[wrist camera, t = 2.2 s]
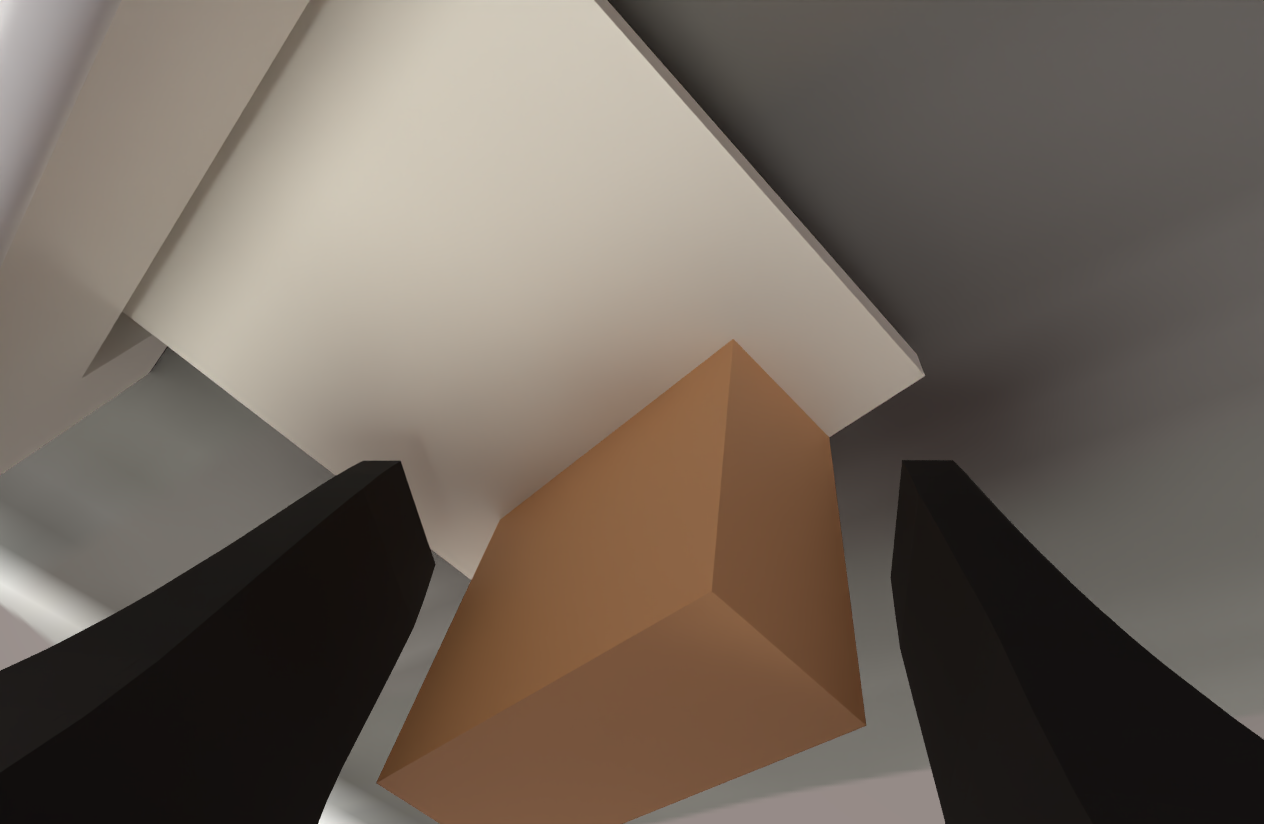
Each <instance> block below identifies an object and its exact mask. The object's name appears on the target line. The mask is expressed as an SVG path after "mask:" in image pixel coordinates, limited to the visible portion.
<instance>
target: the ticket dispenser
mask: <svg viewBox="0 0 1264 824" xmlns="http://www.w3.org/2000/svg"><path fill="white" fill-rule="evenodd" d="M309 1H310V0H0V475H2V474H3V473H4V472H6V471H7V470H9V469H10V468H12V467H13V466H15V465H16V464H18V463H19V462H21V461H22V460H23V459H25V458H26V457H28V456H29V455H31V454H32V453H34V452H35V451H37V450H38V449H40V448H41V447H42V446H44V445H45V444H47V443H48V442H50V441H51V440H53V439H54V438H56V437H57V436H59V435H60V434H61V433H63V432H64V431H66V430H67V429H69V428H70V427H72V426H73V425H75V424H76V423H78V422H79V421H80V420H82V419H83V418H85V417H86V416H88V415H89V414H91V413H92V412H94V411H95V410H97V409H98V408H99V407H101V406H102V405H104V404H105V403H107V402H108V401H110V400H111V399H113V398H114V397H116V396H117V395H118V394H120V393H121V392H123V391H124V390H126V389H127V388H129V387H130V386H132V385H133V384H135V383H136V382H137V381H139V380H140V379H142V378H143V377H145V376H146V375H148V374H149V373H150V371H151V370H152V368H153V367H154V365H155V364H156V362H157V361H158V359H159V358H160V356H161V355H162V353H163V352H164V350H165V349H166V347H167V345H165V344H164V343H163V342H162V341H160V340H159V339H158V338H156V337H155V336H154V335H152V334H151V333H150V332H149V331H147V330H146V329H145V328H143V327H142V326H141V325H139V324H138V323H137V322H136V321H134V320H133V319H132V318H130V317H129V316H128V315H126V314H125V313H124V312H123V309H124V307H125V306H126V304H127V302H128V301H129V299H130V297H131V296H132V294H133V292H134V291H135V289H136V287H137V286H138V284H139V282H140V281H141V279H142V277H143V276H144V274H145V272H146V271H147V269H148V267H149V266H150V264H151V262H152V261H153V259H154V258H155V256H156V254H157V253H158V251H159V249H160V248H161V246H162V244H163V243H164V241H165V239H166V238H167V236H168V234H169V233H170V231H171V229H172V228H173V226H174V224H175V223H176V221H177V219H178V218H179V216H180V214H181V213H182V211H183V209H184V208H185V206H186V204H187V203H188V201H189V199H190V198H191V196H192V195H193V193H194V191H195V190H196V188H197V186H198V185H199V183H200V181H201V180H202V178H203V176H204V175H205V173H206V171H207V170H208V168H209V166H210V165H211V163H212V161H213V160H214V158H215V156H216V155H217V153H218V151H219V150H220V148H221V146H222V145H223V143H224V141H225V140H226V138H227V136H228V135H229V133H230V132H231V130H232V128H233V127H234V125H235V123H236V122H237V120H238V118H239V117H240V115H241V113H242V112H243V110H244V108H245V107H246V105H247V103H248V102H249V100H250V98H251V97H252V95H253V93H254V92H255V90H256V88H257V87H258V85H259V83H260V82H261V80H262V78H263V77H264V75H265V73H266V72H267V70H268V69H269V67H270V65H271V64H272V62H273V60H274V59H275V57H276V55H277V54H278V52H279V50H280V49H281V47H282V45H283V44H284V42H285V40H286V39H287V37H288V35H289V34H290V32H291V30H292V29H293V27H294V25H295V24H296V22H297V20H298V19H299V17H300V15H301V14H302V12H303V10H304V9H305V7H306V6H307V4H308V2H309Z"/></svg>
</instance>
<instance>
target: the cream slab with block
mask: <svg viewBox="0 0 1264 824" xmlns="http://www.w3.org/2000/svg"><path fill="white" fill-rule="evenodd" d="M123 312H124V313H125V314H126V315H128V316H129V317H130V318H132V319H133V320H134V321H136V322H137V323H138V324H139V325H141V326H142V327H143V328H145V329H146V330H147V331H149V332H150V333H151V334H152V335H154V336H155V337H156V338H158V339H159V340H160V341H162V342H163V343H164V344H165V345H167V346H168V347H169V348H171V349H172V350H173V351H175V352H176V353H177V354H178V355H180V356H181V357H182V358H184V359H185V360H186V361H188V362H189V363H190V364H191V365H193V366H194V367H195V368H197V369H198V370H199V371H201V372H202V373H203V374H204V375H206V376H207V377H208V378H210V379H211V380H212V381H214V382H215V383H216V384H217V385H219V386H220V387H221V388H223V389H224V390H225V391H226V392H228V393H229V394H230V395H232V396H233V397H234V398H236V399H237V400H238V401H239V402H241V403H242V404H243V405H245V406H246V407H247V408H249V409H250V410H251V411H252V412H254V413H255V414H256V415H258V416H259V417H260V418H262V419H263V420H264V421H265V422H267V423H268V424H269V425H271V426H272V427H273V428H275V429H276V430H277V431H278V432H280V433H281V434H282V435H284V436H285V437H286V438H288V439H289V440H290V441H291V442H293V443H294V444H295V445H297V446H298V447H299V448H301V449H302V450H303V451H304V452H306V453H307V454H308V455H310V456H311V457H312V458H313V459H315V460H316V461H317V462H319V463H320V464H321V465H323V466H324V467H325V468H326V469H328V470H329V471H330V472H332V473H333V474H334V475H338V474H340V473H341V472H343V471H345V470H347V469H348V468H350V467H352V466H354V465H356V464H357V463H359V462H361V461H401V463H402V466H403V469H404V472H405V475H406V478H407V481H408V484H409V487H410V490H411V493H412V496H413V499H414V502H415V505H416V508H417V511H418V514H419V517H420V520H421V523H422V526H423V529H424V532H425V535H426V538H427V541H428V544H429V547H430V549H432V550H433V551H434V552H436V553H437V554H438V555H439V556H441V557H442V558H443V559H445V560H446V561H447V562H449V563H450V564H451V565H452V566H454V567H455V568H456V569H458V570H459V571H460V572H462V573H463V574H464V575H465V576H467V577H468V578H469V579H471V582H470V584H469V586H468V589H467V591H466V593H465V595H464V597H463V599H462V601H461V603H460V606H459V608H458V610H457V612H456V614H455V616H454V618H453V621H452V623H451V625H450V627H449V629H448V631H447V633H446V635H445V638H444V640H443V642H442V644H441V646H440V648H439V650H438V653H437V655H436V657H435V659H434V661H433V663H432V665H431V667H430V670H429V672H428V674H427V676H426V678H425V680H424V682H423V684H422V687H421V689H420V691H419V693H418V695H417V697H416V699H415V702H414V704H413V706H412V708H411V710H410V712H409V714H408V716H407V719H406V721H405V723H404V725H403V727H402V729H401V731H400V733H399V736H398V738H397V740H396V742H395V744H394V746H393V748H392V751H391V753H390V755H389V757H388V759H387V761H386V763H385V765H384V768H383V770H382V772H381V774H380V776H379V778H378V780H377V782H376V783H377V784H379V785H380V786H382V787H383V788H385V789H386V790H388V791H390V792H391V793H393V794H394V795H396V796H397V797H399V798H401V799H402V800H404V801H405V802H407V803H408V804H410V805H412V806H413V807H415V808H416V809H418V810H419V811H421V812H423V813H424V814H426V815H427V816H429V817H430V818H432V819H434V820H435V821H437V822H438V823H440V824H623V823H625V822H628V821H630V820H633V819H635V818H638V817H640V816H643V815H645V814H648V813H650V812H653V811H655V810H658V809H660V808H663V807H665V806H668V805H670V804H673V803H675V802H678V801H680V800H683V799H685V798H688V797H690V796H693V795H695V794H698V793H700V792H703V791H705V790H708V789H710V788H712V787H715V786H717V785H720V784H722V783H725V782H727V781H730V780H732V779H735V778H737V777H740V776H742V775H745V774H747V773H750V772H752V771H755V770H757V769H760V768H762V767H765V766H767V765H770V764H772V763H775V762H777V761H780V760H782V759H785V758H787V757H790V756H792V755H794V754H797V753H799V752H802V751H804V750H807V749H809V748H812V747H814V746H817V745H819V744H822V743H824V742H827V741H829V740H832V739H834V738H837V737H839V736H842V735H844V734H847V733H849V732H852V731H854V730H857V729H859V728H862V727H864V726H866V720H865V712H864V704H863V696H862V689H861V681H860V673H859V665H858V658H857V650H856V642H855V634H854V626H853V619H852V611H851V603H850V595H849V588H848V580H847V572H846V564H845V557H844V549H843V541H842V533H841V525H840V518H839V510H838V502H837V494H836V487H835V479H834V471H833V463H832V455H831V448H830V440H829V437H830V436H832V435H834V434H835V433H837V432H838V431H840V430H841V429H843V428H845V427H846V426H848V425H849V424H851V423H852V422H854V421H855V420H857V419H859V418H860V417H862V416H863V415H865V414H866V413H868V412H869V411H871V410H873V409H874V408H876V407H877V406H879V405H880V404H882V403H884V402H885V401H887V400H888V399H890V398H891V397H893V396H894V395H896V394H898V393H899V392H901V391H902V390H904V389H905V388H907V387H909V386H910V385H912V384H913V383H915V382H916V381H918V380H919V379H921V378H923V377H924V376H925V374H924V372H923V369H922V366H921V364H920V361H919V358H918V356H917V354H916V353H915V351H914V350H913V349H912V348H911V347H910V346H909V345H908V343H907V342H906V341H905V340H904V339H903V338H902V337H901V335H900V334H899V333H898V332H897V331H896V330H895V329H894V327H893V326H892V325H891V324H890V323H889V322H888V321H887V319H886V318H885V317H884V316H883V315H882V314H881V313H880V311H879V310H878V309H877V308H876V307H875V306H874V305H873V303H872V302H871V301H870V300H869V299H868V298H867V297H866V295H865V294H864V293H863V292H862V291H861V290H860V289H859V287H858V286H857V285H856V284H855V283H854V282H853V281H852V279H851V278H850V277H849V276H848V275H847V274H846V273H845V271H844V270H843V269H842V268H841V267H840V266H839V265H838V263H837V262H836V261H835V260H834V259H833V258H832V257H831V255H830V254H829V253H828V252H827V251H826V250H825V249H824V247H823V246H822V245H821V244H820V243H819V242H818V241H817V239H816V238H815V237H814V236H813V235H812V234H811V233H810V231H809V230H808V229H807V228H806V227H805V226H804V225H803V223H802V222H801V221H800V220H799V219H798V218H797V217H796V215H795V214H794V213H793V212H792V211H791V210H790V209H789V207H788V206H787V205H786V204H785V203H784V202H783V201H782V199H781V198H780V197H779V196H778V195H777V194H776V193H775V191H774V190H773V189H772V188H771V187H770V186H769V185H768V183H767V182H766V181H765V180H764V179H763V178H762V177H761V175H760V174H759V173H758V172H757V171H756V170H755V169H754V167H753V166H752V165H751V164H750V163H749V162H748V161H747V159H746V158H745V157H744V156H743V155H742V154H741V153H740V151H739V150H738V149H737V148H736V147H735V146H734V145H733V143H732V142H731V141H730V140H729V139H728V138H727V137H726V135H725V134H724V133H723V132H722V131H721V130H720V129H719V127H718V126H717V125H716V124H715V123H714V122H713V121H712V119H711V118H710V117H709V116H708V115H707V114H706V113H705V111H704V110H703V109H702V108H701V107H700V106H699V105H698V103H697V102H696V101H695V100H694V99H693V98H692V97H691V95H690V94H689V93H688V92H687V91H686V90H685V89H684V87H683V86H682V85H681V84H680V83H679V82H678V81H677V79H676V78H675V77H674V76H673V75H672V74H671V73H670V71H669V70H668V69H667V68H666V67H665V66H664V65H663V63H662V62H661V61H660V60H659V59H658V58H657V57H656V55H655V54H654V53H653V52H652V51H651V50H650V49H649V47H648V46H647V45H646V44H645V43H644V42H643V41H642V39H641V38H640V37H639V36H638V35H637V34H636V33H635V31H634V30H633V29H632V28H631V27H630V26H629V25H628V23H627V22H626V21H625V20H624V19H623V18H622V17H621V15H620V14H619V13H618V12H617V11H616V10H615V9H614V7H613V6H612V5H611V4H610V3H609V2H608V1H607V0H310V1H309V2H308V4H307V6H306V7H305V9H304V10H303V12H302V14H301V15H300V17H299V19H298V20H297V22H296V24H295V25H294V27H293V29H292V30H291V32H290V34H289V35H288V37H287V39H286V40H285V42H284V44H283V45H282V47H281V49H280V50H279V52H278V54H277V55H276V57H275V59H274V60H273V62H272V64H271V65H270V67H269V69H268V70H267V72H266V73H265V75H264V77H263V78H262V80H261V82H260V83H259V85H258V87H257V88H256V90H255V92H254V93H253V95H252V97H251V98H250V100H249V102H248V103H247V105H246V107H245V108H244V110H243V112H242V113H241V115H240V117H239V118H238V120H237V122H236V123H235V125H234V127H233V128H232V130H231V132H230V133H229V135H228V136H227V138H226V140H225V141H224V143H223V145H222V146H221V148H220V150H219V151H218V153H217V155H216V156H215V158H214V160H213V161H212V163H211V165H210V166H209V168H208V170H207V171H206V173H205V175H204V176H203V178H202V180H201V181H200V183H199V185H198V186H197V188H196V190H195V191H194V193H193V195H192V196H191V198H190V199H189V201H188V203H187V204H186V206H185V208H184V209H183V211H182V213H181V214H180V216H179V218H178V219H177V221H176V223H175V224H174V226H173V228H172V229H171V231H170V233H169V234H168V236H167V238H166V239H165V241H164V243H163V244H162V246H161V248H160V249H159V251H158V253H157V254H156V256H155V258H154V259H153V261H152V262H151V264H150V266H149V267H148V269H147V271H146V272H145V274H144V276H143V277H142V279H141V281H140V282H139V284H138V286H137V287H136V289H135V291H134V292H133V294H132V296H131V297H130V299H129V301H128V302H127V304H126V306H125V307H124V309H123Z"/></svg>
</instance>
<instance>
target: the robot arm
mask: <svg viewBox="0 0 1264 824" xmlns="http://www.w3.org/2000/svg"><path fill="white" fill-rule="evenodd" d="M434 567H435V562H434V559H433V556H432V553H431V550H430V547H429V544H428V541H427V538H426V535H425V532H424V529H423V526H422V523H421V520H420V517H419V514H418V511H417V508H416V505H415V502H414V499H413V496H412V493H411V490H410V487H409V484H408V481H407V478H406V475H405V472H404V469H403V466H402V463H401V461H361V462H359V463H357V464H356V465H354V466H352V467H350V468H348V469H347V470H345V471H343V472H341V473H340V474H338V475H336V476H335V477H333V478H332V479H330V480H328V481H327V482H325V483H324V484H322V485H320V486H319V487H317V488H316V489H314V490H313V491H311V492H310V493H308V494H307V495H305V496H303V497H302V498H300V499H299V500H297V501H296V502H294V503H293V504H291V505H290V506H288V507H287V508H285V509H284V510H282V511H281V512H279V513H278V514H276V515H275V516H273V517H271V518H270V519H268V520H267V521H265V522H264V523H262V524H261V525H259V526H258V527H256V528H255V529H253V530H252V531H250V532H249V533H247V534H246V535H244V536H242V537H241V538H239V539H238V540H236V541H235V542H233V543H232V544H230V545H229V546H227V547H225V548H224V549H222V550H221V551H219V552H217V553H216V554H214V555H212V556H211V557H209V558H208V559H206V560H204V561H203V562H201V563H199V564H198V565H196V566H195V567H193V568H191V569H190V570H188V571H186V572H185V573H183V574H181V575H180V576H178V577H177V578H175V579H173V580H172V581H170V582H168V583H167V584H165V585H164V586H162V587H160V588H159V589H157V590H155V591H154V592H152V593H150V594H149V595H147V596H145V597H143V598H142V599H140V600H138V601H136V602H135V603H133V604H131V605H129V606H127V607H126V608H124V609H122V610H120V611H118V612H117V613H115V614H113V615H111V616H109V617H108V618H106V619H104V620H102V621H100V622H98V623H96V624H94V625H92V626H90V627H89V628H87V629H85V630H83V631H81V632H79V633H77V634H75V635H73V636H71V637H70V638H68V639H66V640H64V641H62V642H60V643H58V644H56V645H54V646H52V647H50V648H48V649H46V650H44V651H42V652H40V653H38V654H35V655H33V656H31V657H29V658H27V659H25V660H22V661H20V662H18V663H16V664H14V665H12V666H10V667H7V668H5V669H3V670H1V671H0V824H318V822H319V820H320V817H321V815H322V812H323V809H324V807H325V804H326V802H327V800H328V797H329V795H330V793H331V791H332V789H333V787H334V784H335V782H336V780H337V778H338V776H339V774H340V772H341V769H342V767H343V765H344V763H345V761H346V759H347V757H348V755H349V754H350V752H351V750H352V748H353V746H354V744H355V742H356V740H357V738H358V736H359V734H360V732H361V730H362V728H363V726H364V724H365V722H366V720H367V719H368V717H369V715H370V713H371V711H372V709H373V707H374V705H375V703H376V701H377V699H378V697H379V695H380V693H381V691H382V689H383V687H384V686H385V684H386V682H387V680H388V678H389V676H390V674H391V672H392V670H393V668H394V666H395V664H396V662H397V660H398V658H399V656H400V654H401V652H402V650H403V648H404V646H405V644H406V642H407V640H408V638H409V636H410V634H411V632H412V630H413V627H414V625H415V623H416V620H417V617H418V614H419V612H420V609H421V606H422V604H423V601H424V598H425V595H426V592H427V589H428V586H429V583H430V580H431V577H432V574H433V570H434ZM891 584H892V591H893V599H894V607H895V615H896V622H897V629H898V636H899V643H900V649H901V653H902V657H903V661H904V665H905V669H906V673H907V677H908V681H909V685H910V689H911V693H912V697H913V700H914V704H915V708H916V712H917V716H918V720H919V724H920V727H921V731H922V735H923V739H924V743H925V746H926V750H927V754H928V758H929V762H930V766H931V769H932V773H933V777H934V781H935V784H936V788H937V792H938V796H939V800H940V804H941V808H942V811H943V815H944V819H945V824H1264V740H1263V739H1262V738H1260V737H1259V736H1258V735H1256V734H1255V733H1254V732H1252V731H1251V730H1250V729H1248V728H1247V727H1245V726H1244V725H1242V724H1241V723H1240V722H1238V721H1237V720H1236V719H1234V718H1233V717H1232V716H1230V715H1229V714H1228V713H1226V712H1225V711H1224V710H1223V709H1221V708H1220V707H1219V706H1217V705H1216V704H1215V703H1213V702H1212V701H1211V700H1210V699H1208V698H1207V697H1206V696H1204V695H1203V694H1202V693H1200V692H1199V691H1198V690H1197V689H1195V688H1194V687H1193V686H1191V685H1190V684H1189V683H1188V682H1186V681H1185V680H1184V679H1182V678H1181V677H1180V676H1178V675H1177V674H1176V673H1175V672H1173V671H1172V670H1171V669H1169V668H1168V667H1167V666H1165V665H1164V664H1163V663H1162V662H1161V661H1159V660H1158V659H1157V658H1156V657H1155V656H1153V655H1152V654H1151V653H1150V652H1148V651H1147V650H1146V649H1145V648H1144V647H1142V646H1141V645H1140V644H1139V643H1138V642H1136V641H1135V640H1134V639H1133V638H1132V637H1131V636H1129V635H1128V634H1127V633H1126V632H1125V631H1124V630H1123V629H1121V628H1120V627H1119V626H1118V625H1117V624H1116V623H1115V622H1113V621H1112V620H1111V619H1110V618H1109V617H1108V616H1107V615H1106V614H1104V613H1103V612H1102V611H1101V610H1100V609H1099V608H1098V607H1096V606H1095V605H1094V604H1093V603H1092V602H1091V601H1090V600H1089V599H1088V598H1087V597H1086V596H1085V595H1084V594H1083V593H1081V592H1080V591H1079V590H1078V589H1077V588H1076V587H1075V586H1074V585H1073V584H1072V583H1071V582H1070V581H1069V580H1068V579H1067V578H1066V577H1065V576H1064V575H1063V574H1062V573H1061V572H1060V571H1059V570H1058V569H1057V568H1056V567H1055V566H1054V565H1053V564H1051V563H1050V562H1049V561H1048V560H1047V559H1046V558H1045V557H1044V556H1043V555H1042V554H1041V553H1040V552H1039V551H1038V550H1037V549H1036V548H1035V547H1034V546H1033V545H1032V544H1031V543H1030V542H1029V541H1028V540H1027V539H1026V538H1025V537H1024V536H1023V535H1022V533H1021V532H1020V531H1019V530H1018V529H1017V528H1016V527H1015V526H1014V525H1013V524H1012V523H1011V522H1010V521H1009V520H1008V519H1007V518H1006V517H1005V516H1004V514H1003V513H1002V512H1001V511H1000V510H999V509H998V508H997V507H996V506H995V505H994V504H993V503H992V502H991V501H990V499H989V498H988V497H987V496H986V495H985V494H984V493H983V492H982V491H981V490H980V489H979V487H978V486H977V485H976V484H975V483H974V482H973V481H972V480H971V479H970V478H969V476H968V475H967V474H966V473H965V472H964V471H963V470H962V469H961V468H960V467H959V466H958V465H957V464H956V463H955V462H954V461H953V460H902V469H901V480H900V490H899V500H898V510H897V520H896V530H895V540H894V550H893V560H892V570H891Z"/></svg>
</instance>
